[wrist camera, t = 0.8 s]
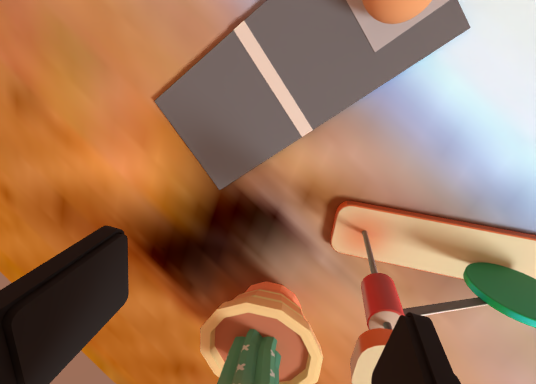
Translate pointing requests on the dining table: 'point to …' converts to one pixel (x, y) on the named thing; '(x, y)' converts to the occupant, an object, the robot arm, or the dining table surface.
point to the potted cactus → (261, 339)
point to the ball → (394, 9)
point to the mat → (293, 76)
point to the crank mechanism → (431, 268)
